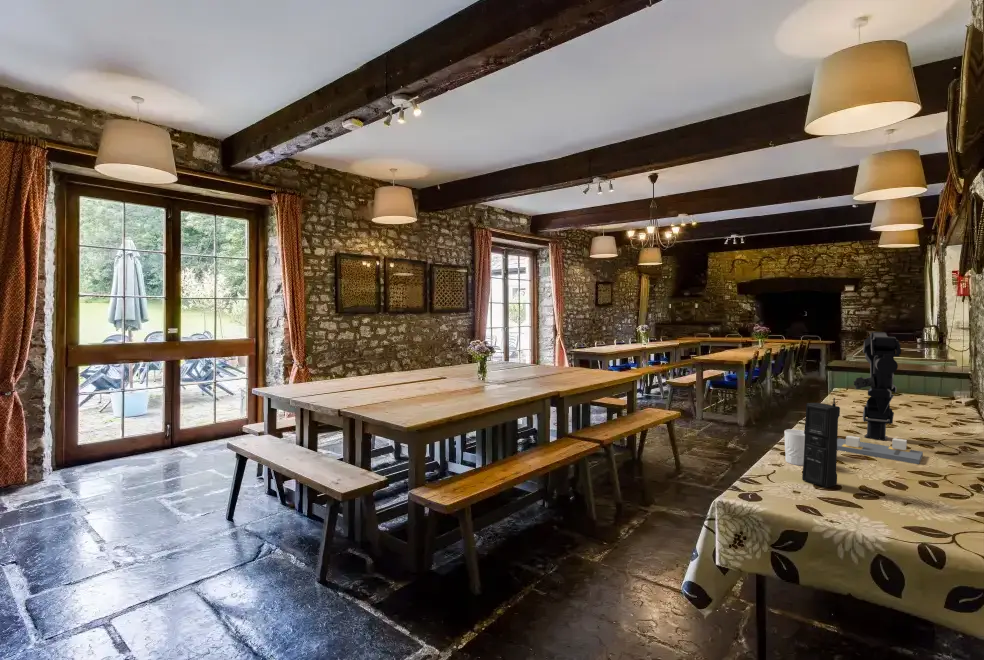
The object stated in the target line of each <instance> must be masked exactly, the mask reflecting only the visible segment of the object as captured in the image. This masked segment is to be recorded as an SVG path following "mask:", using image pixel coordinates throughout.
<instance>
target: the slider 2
mask: <svg viewBox="0 0 984 660" xmlns="http://www.w3.org/2000/svg"><path fill="white" fill-rule="evenodd" d="M891 440H892V441H891V447H892V448H894V449H900V450H906V449H907V445H908V444H907V443H908V440H907V439H902V438H895V437H893V438H892V439H891Z"/></svg>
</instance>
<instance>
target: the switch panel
mask: <svg viewBox="0 0 984 660" xmlns="http://www.w3.org/2000/svg"><path fill="white" fill-rule="evenodd" d="M837 451H841V452H845V451H846V453H852V454H857V455H863V456H868V457H875V458H881V459H886V460H892V461H898V462H903V463H908V464H909V463H910V464H916V465H919V464H921V463H920V462H921V461H922V459H923V456H924V455H923V454H924V451H921V450H916V449H911V448H909V449H907V448H906V450H900V449H894V448H892V445H891V446H889V445H884V444H876V443H871V442H866V441H865V442H864V441H860V446H859V447H852V446H846V438H845V439H844V438H838V437H837Z"/></svg>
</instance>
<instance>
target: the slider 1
mask: <svg viewBox="0 0 984 660" xmlns="http://www.w3.org/2000/svg"><path fill="white" fill-rule="evenodd" d="M845 439H846V446H852V447H859V446H860V442H861V437H859V436H853V435H846V437H845Z"/></svg>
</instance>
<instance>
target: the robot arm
mask: <svg viewBox="0 0 984 660" xmlns="http://www.w3.org/2000/svg"><path fill="white" fill-rule="evenodd" d="M862 353H863V354H864V357H865V360H866V361H867V363H868V365H869V366H870V367H869V368H870V369H869V371H870V372H869V373H870V376H868V377H864V378H863V376H861V377H856V379H855V380H853V385H854V386H855V389H856V390H859V389H862V388H868V387H870V388H869V389H868V390H867V396H868V399H867V400H866V402H865V403H866V404H865V405H864V406H863V410H862V412H863V413H862V420H863V423H864V422H865V423H867V425H866V426H867V427H866V434H865V435H864V438H866V439H867V438H868V439H874V440H879V441H880V440H881V441H886V440H887V439H888V438H889V437H888V436H887V435H886V431H887V430H886V429H887V425H893V423H894V422H893V421H894V415H895V413H894V411H893V408H892V407H891V406H890V403H891V401H892V399H894V396H895V393H897V388H898V387H897V386H896V385H895V384H894V378H895V374H894V373H895V372H896V371H897V370H898V369H899V368H898V367H899V365H898V362H897V361H896V360H895V357H900V355H901V354H902V349H901V343H900V341H899V339H897V338H896V336H888V333H887V332H884V331H883V332H882V331H873V332H870V335H869V336H868V337H867V338H866V339H864V341H863V348H862ZM893 393H894V394H893Z"/></svg>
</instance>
